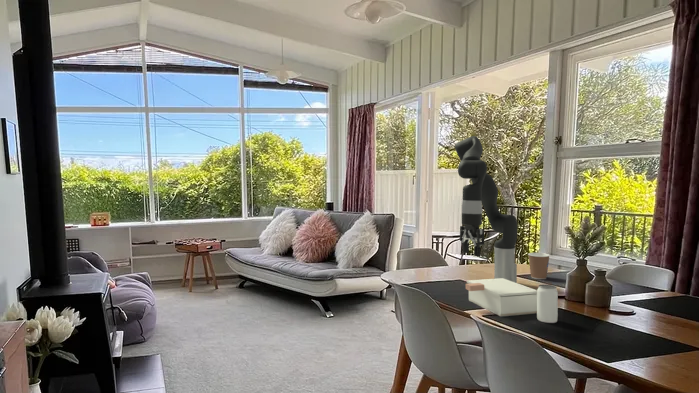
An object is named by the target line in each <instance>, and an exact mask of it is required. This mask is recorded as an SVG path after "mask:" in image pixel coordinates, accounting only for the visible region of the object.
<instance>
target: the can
mask: <svg viewBox="0 0 699 393" xmlns="http://www.w3.org/2000/svg"><path fill="white" fill-rule="evenodd" d="M536 290H537V313H536V318H537V320H538V322H542V323H546V324H555V323H557V322H558V315H559V314H558V311H559V310H558V302H559V300H558V299H559V298H558V296H559V295H558V294H559V293H558V290H557V286H556V285H552V284H539V285H538V288H537V289H536Z"/></svg>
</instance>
